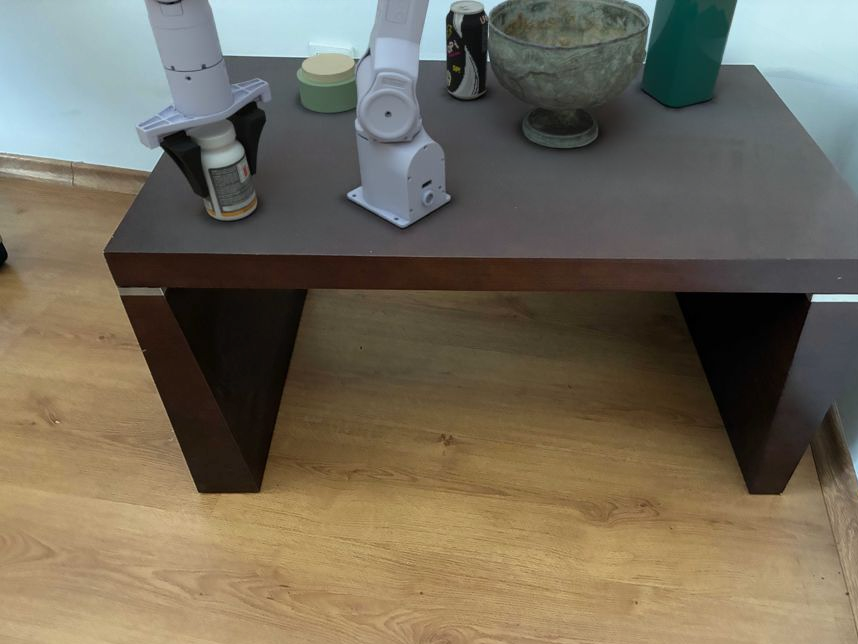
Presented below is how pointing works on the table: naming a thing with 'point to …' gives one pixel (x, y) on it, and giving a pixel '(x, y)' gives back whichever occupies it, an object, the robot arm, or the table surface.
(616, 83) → the bowl
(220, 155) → the pill bottle
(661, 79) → the pitcher
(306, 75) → the squat jar
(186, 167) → the robot arm
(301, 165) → the table surface
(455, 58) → the beverage can
